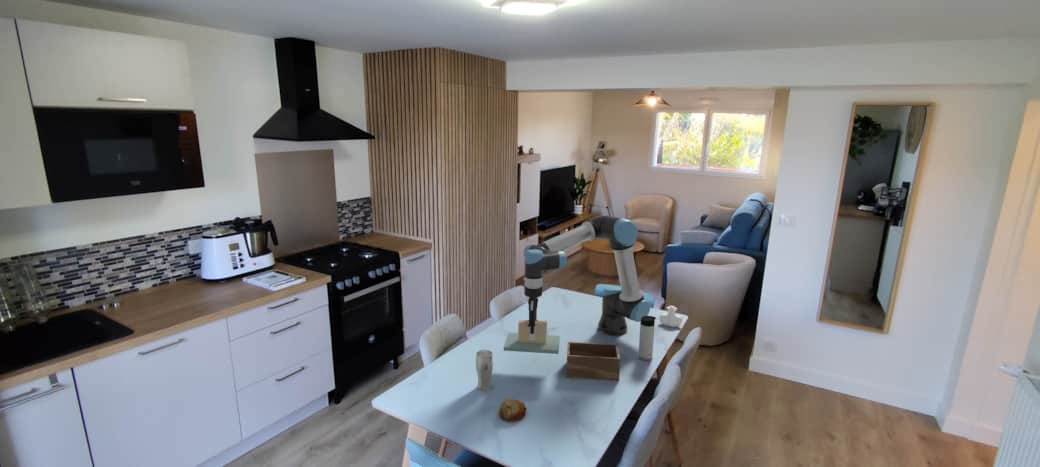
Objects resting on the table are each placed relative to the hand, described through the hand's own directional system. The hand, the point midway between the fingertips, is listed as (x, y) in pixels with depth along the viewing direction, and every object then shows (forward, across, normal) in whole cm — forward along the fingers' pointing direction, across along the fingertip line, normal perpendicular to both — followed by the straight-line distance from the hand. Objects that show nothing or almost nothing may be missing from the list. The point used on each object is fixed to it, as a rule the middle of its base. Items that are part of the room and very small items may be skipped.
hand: (532, 338), depth 209 cm
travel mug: (+15, -18, +51) cm, 56 cm away
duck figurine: (+15, -59, +70) cm, 93 cm away
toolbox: (+15, -2, +26) cm, 30 cm away
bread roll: (+15, +34, -4) cm, 38 cm away
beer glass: (+15, +17, -18) cm, 29 cm away
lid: (+3, 0, 0) cm, 3 cm away
